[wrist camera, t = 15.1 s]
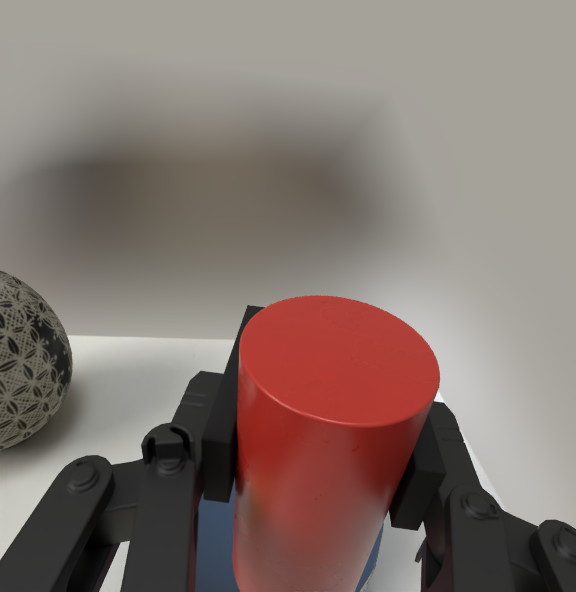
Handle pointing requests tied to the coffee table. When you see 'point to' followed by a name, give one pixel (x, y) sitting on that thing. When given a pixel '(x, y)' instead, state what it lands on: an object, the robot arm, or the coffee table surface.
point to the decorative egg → (29, 361)
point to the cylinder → (322, 438)
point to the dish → (219, 543)
